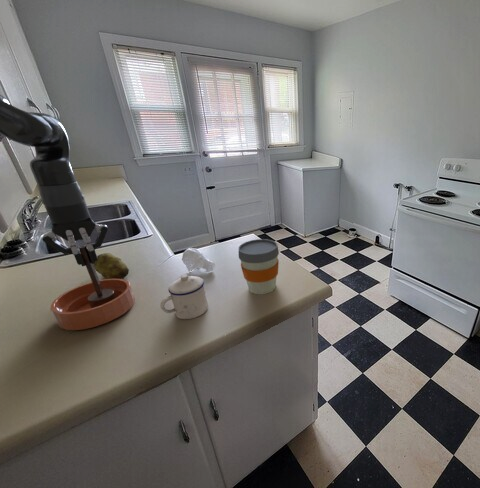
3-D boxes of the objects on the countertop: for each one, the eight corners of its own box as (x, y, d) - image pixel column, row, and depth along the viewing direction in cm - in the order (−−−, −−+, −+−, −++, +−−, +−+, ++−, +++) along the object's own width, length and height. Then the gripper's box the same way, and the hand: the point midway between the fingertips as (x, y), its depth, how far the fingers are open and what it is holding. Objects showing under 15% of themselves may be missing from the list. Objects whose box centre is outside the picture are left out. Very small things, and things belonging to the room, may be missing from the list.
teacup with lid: (200, 297, 85) (192, 265, 81) (214, 309, 80) (208, 275, 75) (159, 316, 77) (148, 281, 72) (172, 330, 71) (162, 293, 67)
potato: (104, 287, 91) (96, 266, 88) (95, 274, 99) (88, 254, 96) (132, 277, 97) (126, 257, 94) (122, 266, 105) (116, 247, 101)
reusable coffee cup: (261, 274, 99) (257, 236, 93) (288, 283, 93) (286, 243, 87) (235, 290, 89) (228, 249, 83) (264, 301, 83) (259, 258, 77)
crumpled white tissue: (191, 244, 102) (218, 250, 100) (193, 263, 106) (220, 270, 103) (178, 250, 97) (206, 257, 94) (181, 271, 100) (209, 278, 98)
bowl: (40, 331, 71) (30, 312, 69) (96, 293, 87) (90, 277, 85) (103, 333, 70) (96, 315, 68) (148, 295, 86) (143, 279, 84)
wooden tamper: (87, 311, 75) (62, 253, 68) (96, 299, 80) (74, 244, 73) (112, 307, 77) (90, 250, 70) (119, 296, 82) (100, 241, 75)
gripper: (98, 195, 73) (117, 252, 80) (27, 203, 65) (55, 266, 72) (100, 200, 68) (121, 261, 75) (23, 209, 60) (54, 277, 67)
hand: (88, 263), depth 73 cm, fingers closed on wooden tamper, 1 cm apart
